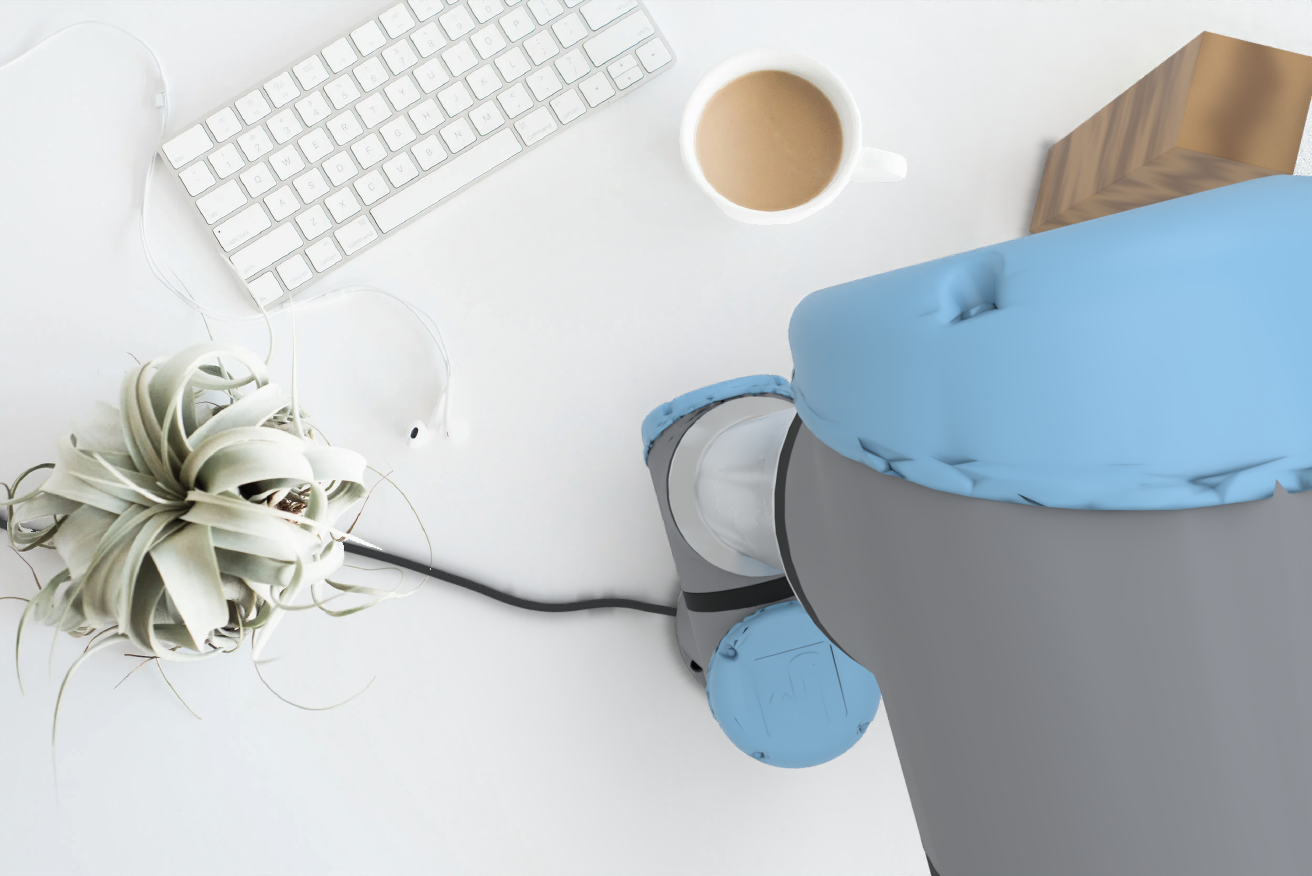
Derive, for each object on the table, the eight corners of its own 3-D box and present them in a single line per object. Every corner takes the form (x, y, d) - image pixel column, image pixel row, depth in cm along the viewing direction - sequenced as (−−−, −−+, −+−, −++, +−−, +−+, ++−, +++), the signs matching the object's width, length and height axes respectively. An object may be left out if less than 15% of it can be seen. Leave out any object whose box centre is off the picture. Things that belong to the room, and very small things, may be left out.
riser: (1028, 231, 77) (1176, 146, 55) (1049, 148, 77) (1204, 30, 55) (1112, 252, 77) (1293, 174, 55) (1132, 168, 77) (1321, 58, 55)
